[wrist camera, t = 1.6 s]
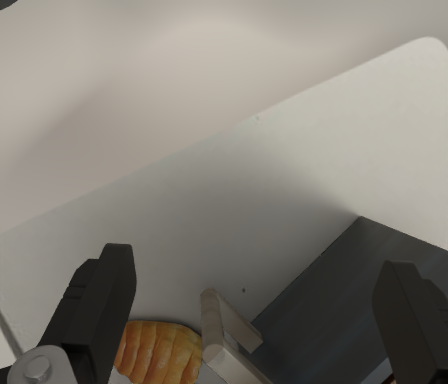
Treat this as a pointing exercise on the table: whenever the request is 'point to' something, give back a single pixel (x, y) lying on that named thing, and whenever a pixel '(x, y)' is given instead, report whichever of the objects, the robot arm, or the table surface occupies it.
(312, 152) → the table surface
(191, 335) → the pastry
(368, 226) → the door
